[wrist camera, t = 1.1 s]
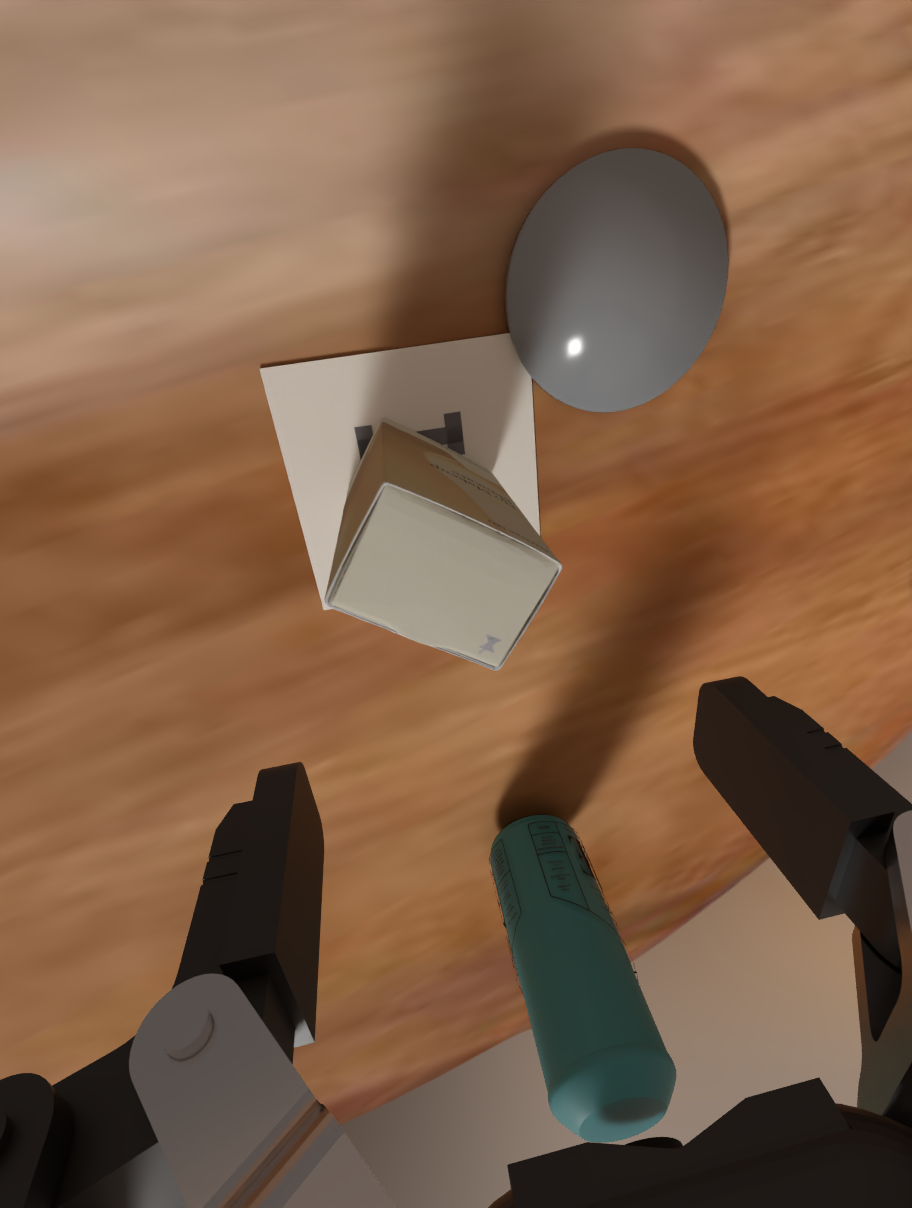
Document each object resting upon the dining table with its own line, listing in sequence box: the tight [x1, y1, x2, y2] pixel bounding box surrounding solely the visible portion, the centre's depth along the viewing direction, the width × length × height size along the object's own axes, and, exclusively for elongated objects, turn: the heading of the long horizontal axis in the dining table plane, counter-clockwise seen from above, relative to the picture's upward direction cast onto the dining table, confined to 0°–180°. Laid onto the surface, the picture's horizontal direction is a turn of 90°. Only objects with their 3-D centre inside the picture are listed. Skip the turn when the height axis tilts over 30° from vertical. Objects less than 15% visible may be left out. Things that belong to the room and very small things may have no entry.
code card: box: [260, 333, 540, 610], centre depth 27 cm, size 12×12×1 cm
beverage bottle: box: [489, 815, 683, 1149], centre depth 31 cm, size 6×7×20 cm
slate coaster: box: [505, 148, 728, 412], centre depth 25 cm, size 10×10×1 cm
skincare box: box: [324, 417, 562, 671], centre depth 22 cm, size 6×4×12 cm
